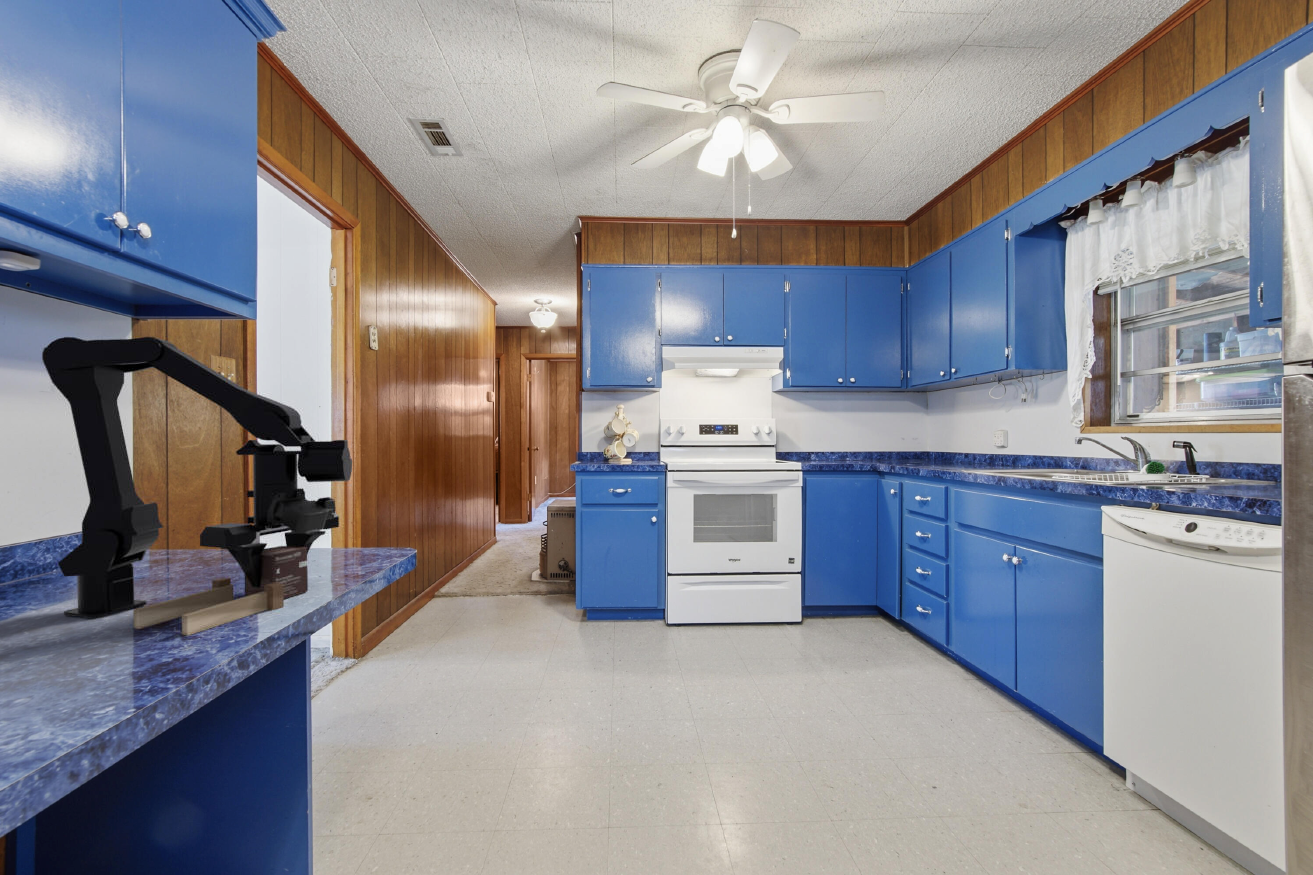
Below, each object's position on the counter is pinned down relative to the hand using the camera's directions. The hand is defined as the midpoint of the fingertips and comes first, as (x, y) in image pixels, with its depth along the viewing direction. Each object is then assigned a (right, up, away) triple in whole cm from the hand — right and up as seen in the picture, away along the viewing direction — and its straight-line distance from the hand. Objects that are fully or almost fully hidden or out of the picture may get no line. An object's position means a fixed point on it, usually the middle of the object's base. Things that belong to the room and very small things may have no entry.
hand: (276, 581), depth 85 cm
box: (0, -3, 0) cm, 2 cm away
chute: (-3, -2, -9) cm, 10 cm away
